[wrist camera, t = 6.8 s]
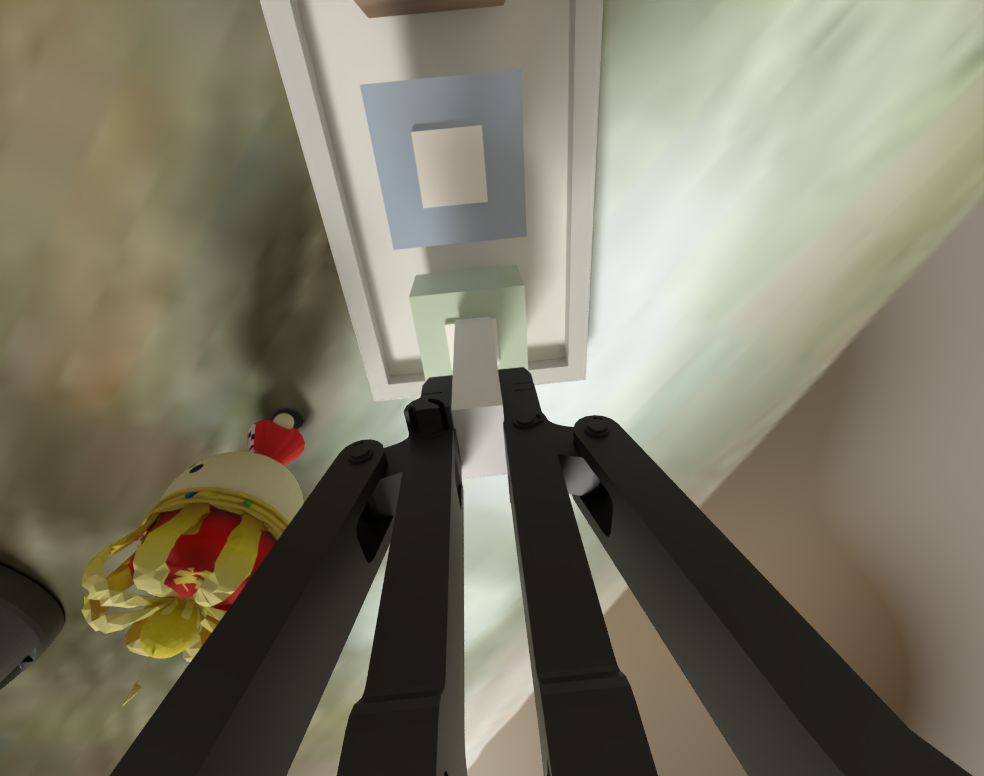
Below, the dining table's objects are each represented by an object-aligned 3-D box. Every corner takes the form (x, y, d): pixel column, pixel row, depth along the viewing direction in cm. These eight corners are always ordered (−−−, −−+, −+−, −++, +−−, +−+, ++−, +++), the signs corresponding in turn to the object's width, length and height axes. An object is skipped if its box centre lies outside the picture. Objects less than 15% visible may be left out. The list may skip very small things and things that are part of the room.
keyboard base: (380, 382, 25) (374, 401, 23) (62, -801, 9) (-31, -1018, 7) (577, 362, 25) (585, 379, 23) (617, -843, 9) (654, -1067, 7)
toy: (245, 359, 24) (-4, 628, 11) (364, 411, 26) (271, 680, 13) (213, 443, 27) (-12, 730, 14) (322, 482, 29) (214, 758, 16)
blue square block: (403, 231, 17) (393, 251, 15) (377, 92, 15) (358, 83, 12) (517, 220, 17) (527, 237, 15) (510, 79, 15) (521, 68, 12)
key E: (431, 363, 22) (427, 396, 19) (415, 274, 20) (408, 298, 17) (521, 354, 22) (529, 385, 19) (516, 264, 20) (525, 286, 17)
